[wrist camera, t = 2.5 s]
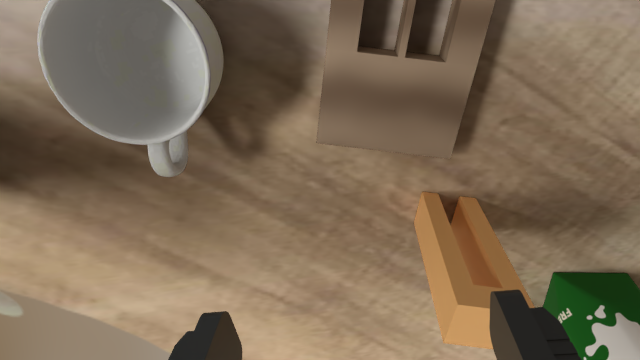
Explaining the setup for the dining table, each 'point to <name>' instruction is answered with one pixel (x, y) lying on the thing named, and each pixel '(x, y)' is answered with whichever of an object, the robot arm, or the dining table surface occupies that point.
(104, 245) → the dining table surface
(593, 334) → the milk carton
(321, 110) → the rectangular block with slots
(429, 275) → the tan u-shaped block
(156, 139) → the teacup
